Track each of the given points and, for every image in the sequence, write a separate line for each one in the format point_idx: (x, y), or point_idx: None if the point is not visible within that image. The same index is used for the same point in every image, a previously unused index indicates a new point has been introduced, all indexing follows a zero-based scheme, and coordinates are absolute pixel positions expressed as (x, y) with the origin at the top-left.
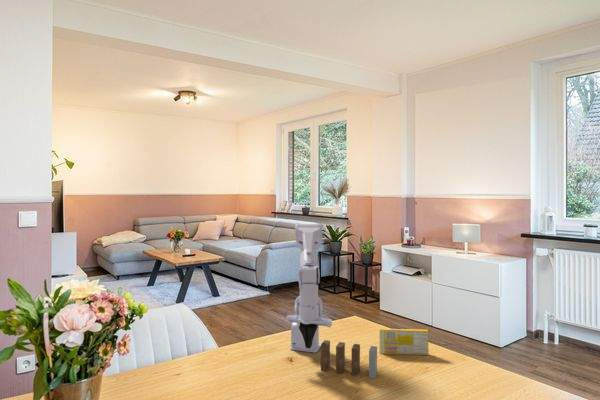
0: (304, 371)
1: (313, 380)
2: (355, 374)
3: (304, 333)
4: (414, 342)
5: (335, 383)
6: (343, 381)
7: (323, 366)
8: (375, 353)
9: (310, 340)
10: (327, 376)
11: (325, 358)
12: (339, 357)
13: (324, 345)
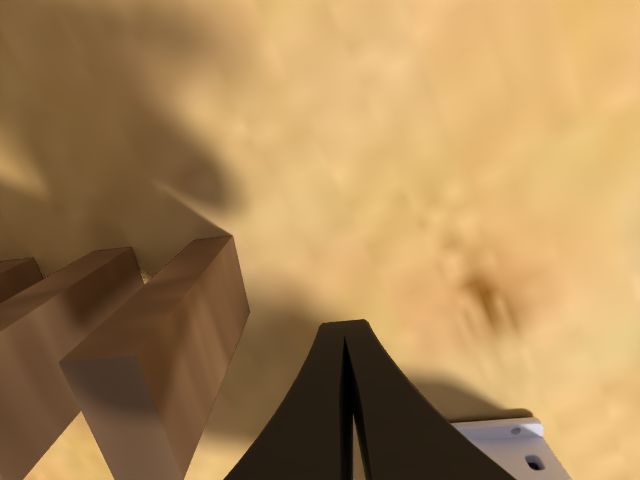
0: (327, 171)
1: (198, 57)
2: (1, 262)
3: (414, 467)
4: None
5: (38, 87)
6: (14, 145)
7: (204, 248)
8: None
9: (295, 382)
10: (147, 169)
11: (162, 278)
12: (15, 303)
13: (93, 356)
